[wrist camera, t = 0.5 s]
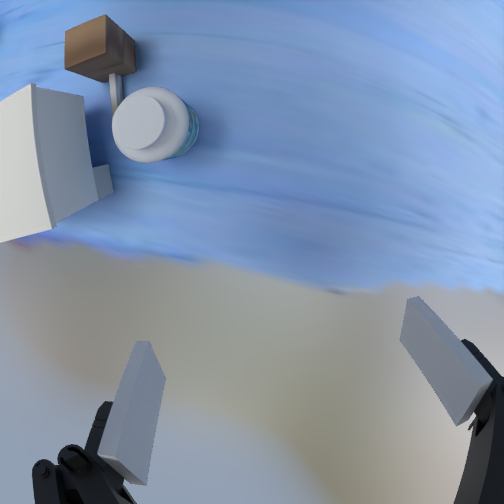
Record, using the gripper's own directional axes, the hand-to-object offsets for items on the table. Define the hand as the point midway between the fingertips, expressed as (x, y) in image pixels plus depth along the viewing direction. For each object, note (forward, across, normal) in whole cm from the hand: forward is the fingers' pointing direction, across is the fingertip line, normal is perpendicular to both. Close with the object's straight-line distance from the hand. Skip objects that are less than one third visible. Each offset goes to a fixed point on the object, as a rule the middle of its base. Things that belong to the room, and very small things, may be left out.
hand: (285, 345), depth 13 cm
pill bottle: (+26, -8, +12) cm, 30 cm away
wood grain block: (+26, -15, +19) cm, 35 cm away
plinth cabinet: (+26, -24, +12) cm, 37 cm away
